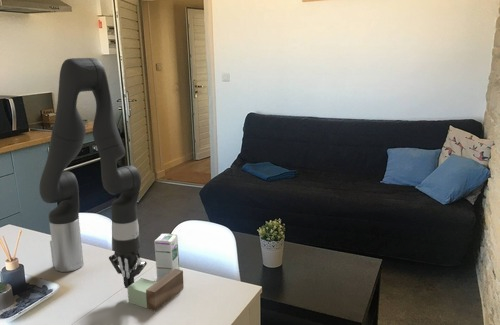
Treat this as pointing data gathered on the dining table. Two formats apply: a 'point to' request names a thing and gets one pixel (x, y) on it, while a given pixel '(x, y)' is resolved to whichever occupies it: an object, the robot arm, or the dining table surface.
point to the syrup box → (166, 254)
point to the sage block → (139, 292)
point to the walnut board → (164, 289)
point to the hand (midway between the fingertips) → (129, 287)
